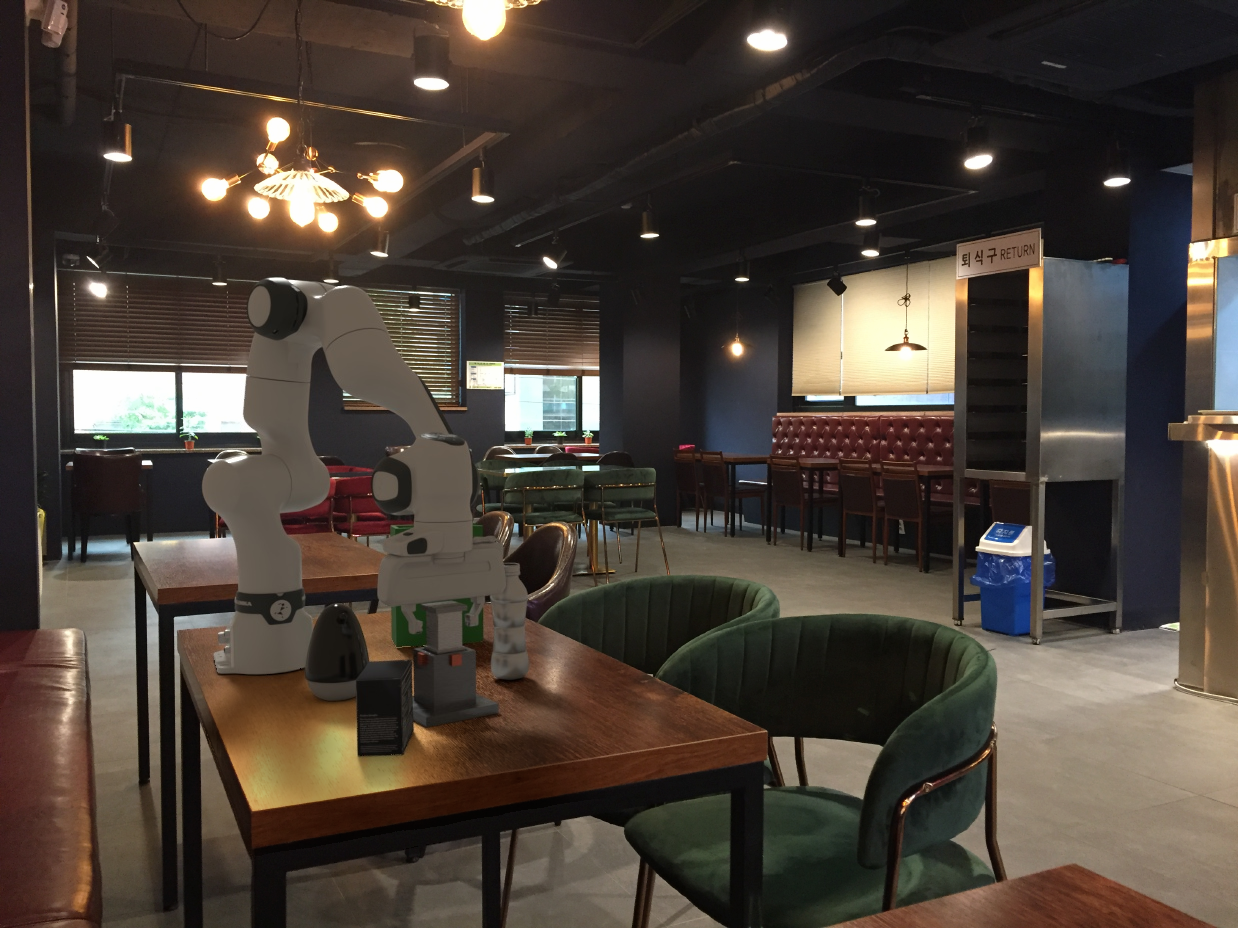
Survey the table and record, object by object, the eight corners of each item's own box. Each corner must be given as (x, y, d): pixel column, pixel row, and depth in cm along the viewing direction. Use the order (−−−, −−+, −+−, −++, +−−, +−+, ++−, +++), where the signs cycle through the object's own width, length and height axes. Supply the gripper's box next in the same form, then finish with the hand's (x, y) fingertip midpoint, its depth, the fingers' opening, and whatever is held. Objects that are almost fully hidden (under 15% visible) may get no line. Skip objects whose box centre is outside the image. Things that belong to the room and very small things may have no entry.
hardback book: (475, 634, 205) (475, 522, 204) (483, 641, 198) (482, 525, 197) (391, 641, 199) (390, 525, 198) (396, 648, 192) (395, 528, 191)
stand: (391, 708, 149) (391, 647, 148) (461, 696, 156) (461, 637, 156) (426, 727, 139) (425, 662, 139) (498, 712, 146) (498, 650, 146)
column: (421, 699, 148) (420, 604, 148) (452, 694, 151) (451, 600, 151) (437, 707, 144) (436, 608, 143) (468, 701, 147) (467, 605, 146)
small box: (368, 732, 137) (367, 659, 137) (414, 731, 137) (414, 658, 137) (354, 757, 126) (353, 677, 126) (404, 755, 127) (403, 676, 127)
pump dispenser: (311, 708, 149) (310, 611, 148) (300, 693, 158) (299, 601, 158) (377, 700, 154) (376, 605, 153) (362, 685, 163) (361, 596, 162)
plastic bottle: (523, 684, 163) (522, 567, 163) (485, 682, 165) (484, 566, 164) (533, 675, 170) (533, 562, 169) (497, 673, 171) (496, 561, 170)
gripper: (492, 533, 156) (493, 618, 156) (372, 541, 143) (373, 634, 144) (512, 536, 150) (513, 624, 151) (390, 545, 138) (390, 641, 139)
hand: (444, 629), depth 147 cm, fingers open, 8 cm apart
